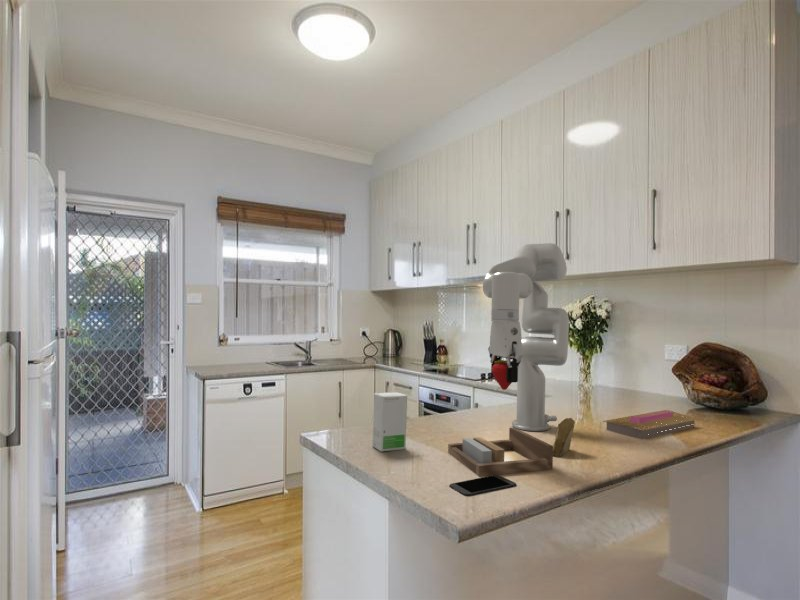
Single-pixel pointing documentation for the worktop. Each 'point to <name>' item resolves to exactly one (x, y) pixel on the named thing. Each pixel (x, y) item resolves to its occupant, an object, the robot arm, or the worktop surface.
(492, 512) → the worktop surface
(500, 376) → the strawberry
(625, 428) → the brown slab
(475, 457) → the outer offcut board
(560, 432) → the rock
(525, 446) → the rack
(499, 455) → the inner offcut board
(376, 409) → the skincare box
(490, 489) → the smartphone
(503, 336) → the robot arm
